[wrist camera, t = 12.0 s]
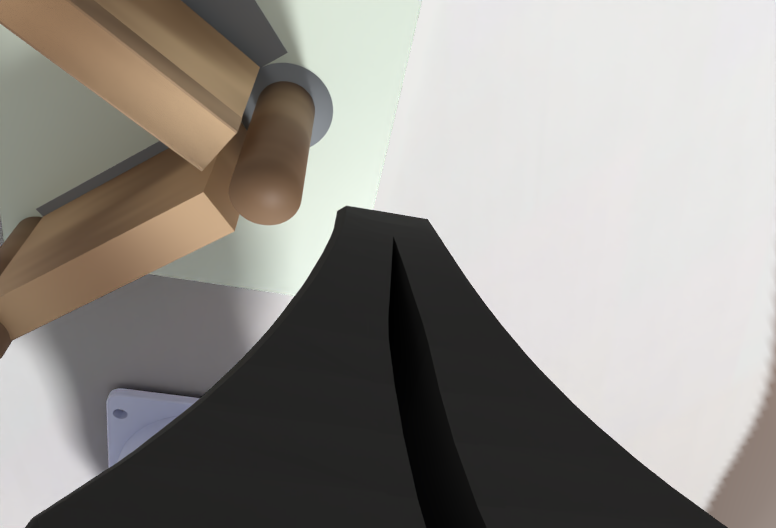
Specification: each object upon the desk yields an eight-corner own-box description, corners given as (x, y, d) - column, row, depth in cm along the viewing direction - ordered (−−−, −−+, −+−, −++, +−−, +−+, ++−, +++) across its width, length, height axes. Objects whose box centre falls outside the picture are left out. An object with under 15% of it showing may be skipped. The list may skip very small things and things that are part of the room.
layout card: (351, 299, 23) (351, 304, 23) (9, 247, 22) (5, 253, 22) (481, -264, 15) (484, -264, 14) (-76, -416, 13) (-85, -420, 13)
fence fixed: (326, 115, 20) (315, 207, 15) (45, 261, 22) (-27, 372, 18) (295, 66, 19) (275, 150, 15) (7, 224, 21) (-77, 332, 17)
